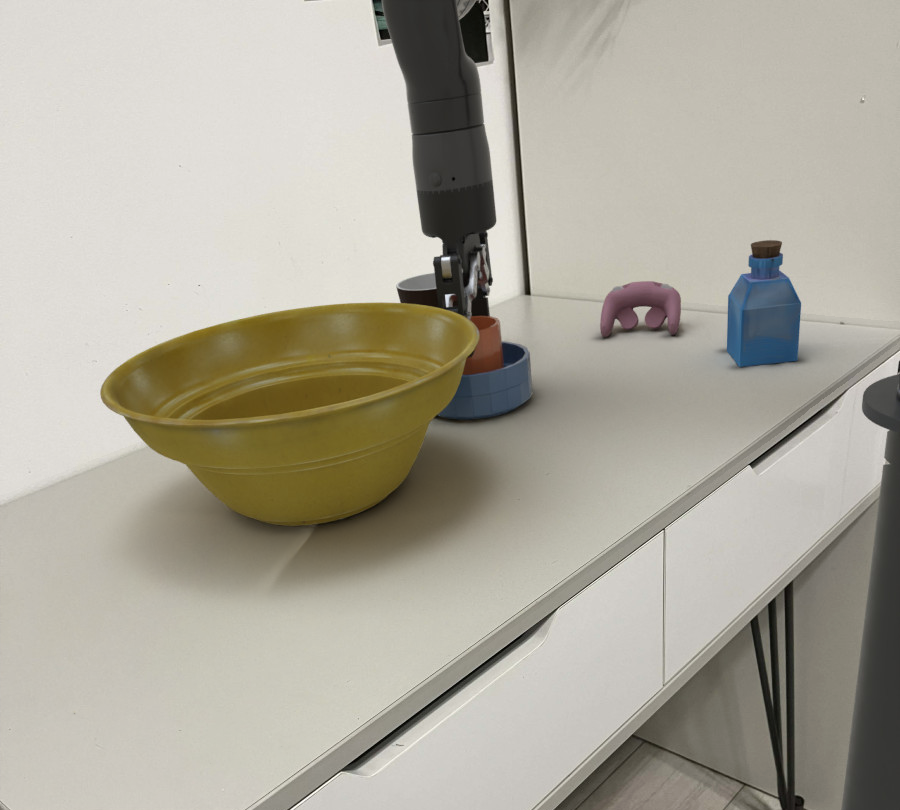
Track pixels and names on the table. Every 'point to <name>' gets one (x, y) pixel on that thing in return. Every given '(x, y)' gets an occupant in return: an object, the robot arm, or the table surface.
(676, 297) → the video game controller
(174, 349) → the planter bowl
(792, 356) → the perfume bottle
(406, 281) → the coffee mug
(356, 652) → the table surface
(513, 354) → the bowl
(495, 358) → the cup
